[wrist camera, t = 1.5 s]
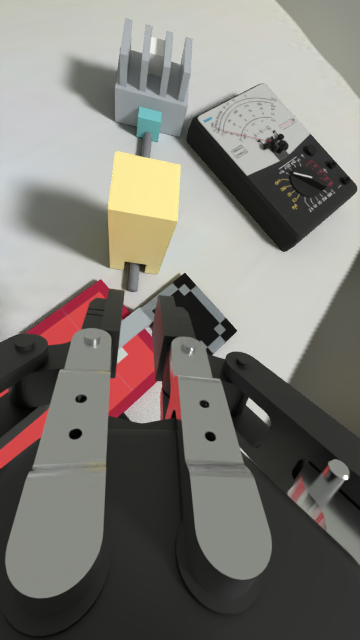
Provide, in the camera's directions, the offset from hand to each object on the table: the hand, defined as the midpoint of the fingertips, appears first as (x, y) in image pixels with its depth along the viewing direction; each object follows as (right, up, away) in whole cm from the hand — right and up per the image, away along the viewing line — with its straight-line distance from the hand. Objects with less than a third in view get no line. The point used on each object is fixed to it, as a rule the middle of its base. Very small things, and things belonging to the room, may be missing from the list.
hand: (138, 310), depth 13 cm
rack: (-2, +26, +22) cm, 34 cm away
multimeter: (+13, +19, +24) cm, 33 cm away
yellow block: (-3, +7, +17) cm, 18 cm away
